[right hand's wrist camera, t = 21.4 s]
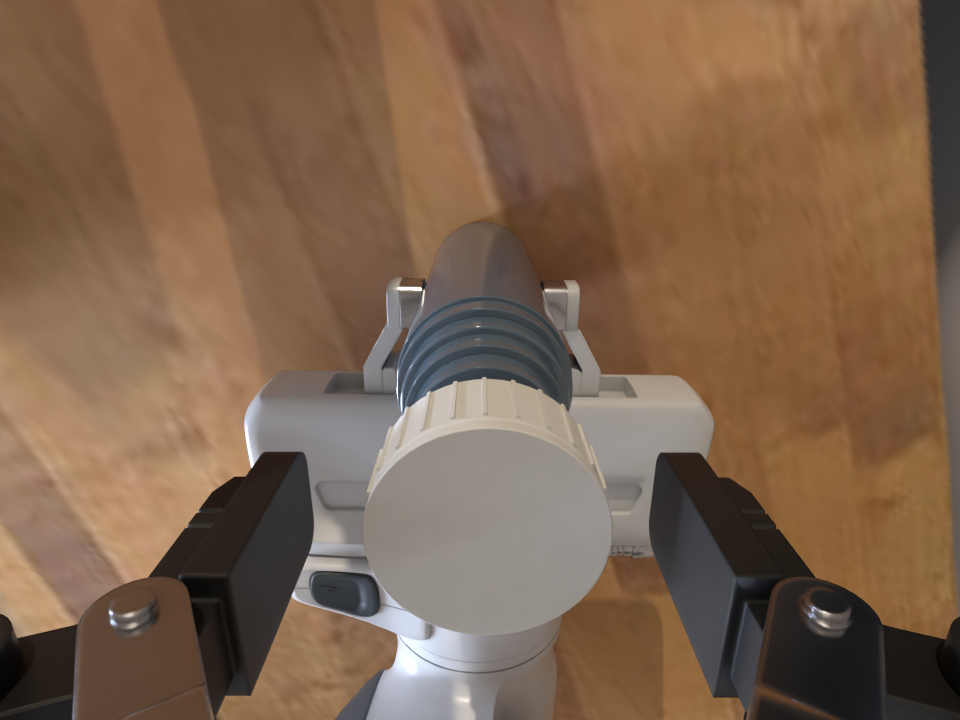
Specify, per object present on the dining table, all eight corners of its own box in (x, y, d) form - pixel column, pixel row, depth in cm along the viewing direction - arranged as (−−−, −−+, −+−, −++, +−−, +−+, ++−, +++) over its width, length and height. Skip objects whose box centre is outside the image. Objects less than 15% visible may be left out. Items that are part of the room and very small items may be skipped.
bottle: (414, 276, 31) (296, 532, 11) (476, 200, 29) (469, 335, 9) (487, 335, 32) (501, 663, 12) (550, 265, 30) (681, 504, 11)
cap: (640, 458, 12) (671, 522, 10) (502, 595, 13) (506, 675, 11) (467, 330, 11) (465, 372, 9) (336, 489, 12) (309, 557, 10)
